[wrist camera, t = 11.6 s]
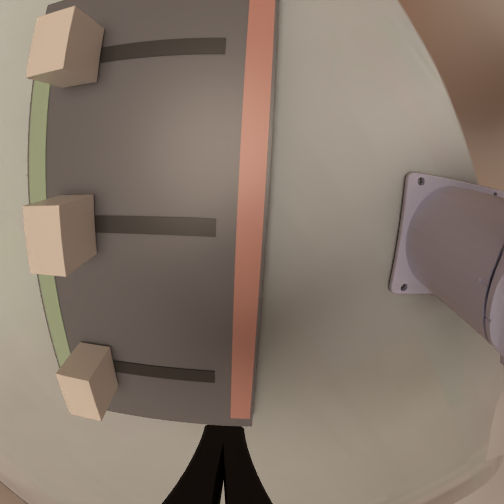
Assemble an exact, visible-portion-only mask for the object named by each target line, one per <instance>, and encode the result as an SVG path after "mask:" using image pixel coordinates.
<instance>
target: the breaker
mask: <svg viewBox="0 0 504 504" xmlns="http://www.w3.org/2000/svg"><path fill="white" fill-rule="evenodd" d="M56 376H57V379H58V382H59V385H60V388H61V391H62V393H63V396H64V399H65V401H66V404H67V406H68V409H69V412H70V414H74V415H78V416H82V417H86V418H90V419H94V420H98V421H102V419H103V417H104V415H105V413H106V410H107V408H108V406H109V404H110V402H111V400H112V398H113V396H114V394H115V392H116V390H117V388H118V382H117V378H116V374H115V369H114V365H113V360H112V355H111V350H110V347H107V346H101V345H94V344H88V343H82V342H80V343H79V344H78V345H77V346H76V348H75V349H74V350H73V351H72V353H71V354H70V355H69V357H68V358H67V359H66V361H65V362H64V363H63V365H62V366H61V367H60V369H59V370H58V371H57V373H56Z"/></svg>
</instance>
